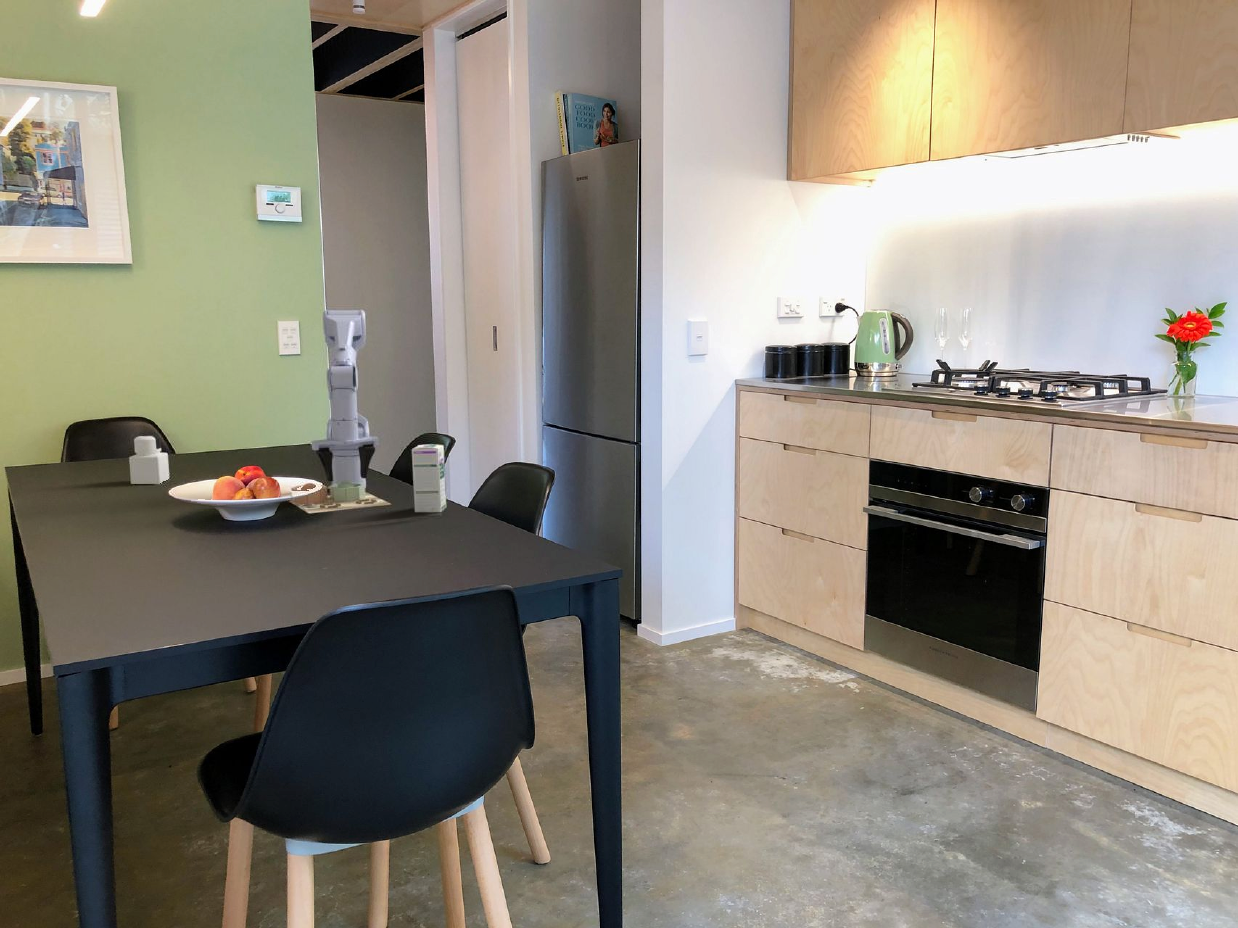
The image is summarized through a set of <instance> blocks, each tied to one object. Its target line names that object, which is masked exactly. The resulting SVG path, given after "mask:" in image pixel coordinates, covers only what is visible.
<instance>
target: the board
mask: <svg viewBox="0 0 1238 928" xmlns="http://www.w3.org/2000/svg"><path fill="white" fill-rule="evenodd" d="M327 496H328V500H327V501H324V502H321V503H312V504H296V503H293V502H292V500H290V499H289V500H290V501H288V502H289V503H291V504H293V505H295V506H296V507H297V508H299V509H300V510H303V511H304V512H306V513H307V514H314V513H315V514H316V513H327V512H335V511H344V510H352V509H353V510H354V509H363V508H371V507H372V508H373V507H379V506H389V505H392V503H390V502H388V501H386V500H384V499H381V498H379V497H378V496H375V495H373V494H370V493H369V492H366V491H365V498H364V499H362V500H358V501H348V502H341V501H333V500H331V499H330V495H327Z"/></svg>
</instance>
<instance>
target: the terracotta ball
mask: <svg viewBox="0 0 1238 928" xmlns="http://www.w3.org/2000/svg"><path fill="white" fill-rule="evenodd" d="M303 485H304V486H303ZM303 485H302V486H303V487H302V488H301V490H307V489H313V488H315V487H316V485H317V484H315V483H313V482H309V483H305V484H303Z"/></svg>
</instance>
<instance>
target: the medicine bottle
mask: <svg viewBox="0 0 1238 928" xmlns="http://www.w3.org/2000/svg"><path fill="white" fill-rule="evenodd" d="M133 444H134V445H133V446H134V453H135V455H130V456H129V457H128V463H129V464H128V466H129V476H130V477H129V479H130V484H155V485H161V484H163V483H162V482H163V481H166V480H168V479H169V478H170V469H169V468H170V467H169V466H170V465H169V455H168V454H169V453H167V452H162V442H161V437H160V436H158V435H156V434H155V435H153V434H151V435H149V434H147V435H144V434H143V435H137V436H136V437H134V439H133ZM169 480H170V479H169ZM169 480H168V481H169ZM166 482H167V481H166ZM160 483H161V484H160Z"/></svg>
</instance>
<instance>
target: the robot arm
mask: <svg viewBox="0 0 1238 928" xmlns="http://www.w3.org/2000/svg"><path fill="white" fill-rule="evenodd" d="M322 325H323V326H322V327H323V328H322V329H323V334H324V339H325V340H324V341H325V343H326V347H327V348H328V349H330V353H329V368H327V369H326V384H327V385H326V386H327V390H328V399H329V400H330V401H329V405H330V419H328V421H327V423H326V427H327V428H326V439H325V438H324V439H317V440H311V450H313V451H315V453H316V455H317V456H318V458H319V461H320V462H321V464H322V467H323V469H324V470H323V471H324V473H325V476H326V481H327V482H331V485H334V484H340V483H341V482H344V481H349V482H351V483H362V484H364V485H365V489H366V488H367V481H366V479H367V477H368V470H369V467H370V464H371V461H372V458H373V457H374V454H375V452H376V447H377V446H379V437H377V436H370V428H369V421H368V419H367V418H366V417H364V416H362V415H361V414H360V413H358V404H357V403H358V400H357V397H358V396H357V391H358V389H359V388H358V387H359V374H358V373H359V372H358V368H357V364H356V363H357V355H358V351H359V350H361V349H362V348H364V347H366V346H365V345H366V341H367V340H366V339H367V338H366V333H367V329H366V328H367V327H366V311H364V309H359V310H357V309H354V310H353V309H352V310H349V309H348V310H347V309H346V310H345V309H343V310H339V309H338V310H337V309H336V310H331V309H330V310H328V309H325V310H324V311H323V313H322ZM331 485H329V486H327V489H328V490H330V486H331Z"/></svg>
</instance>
